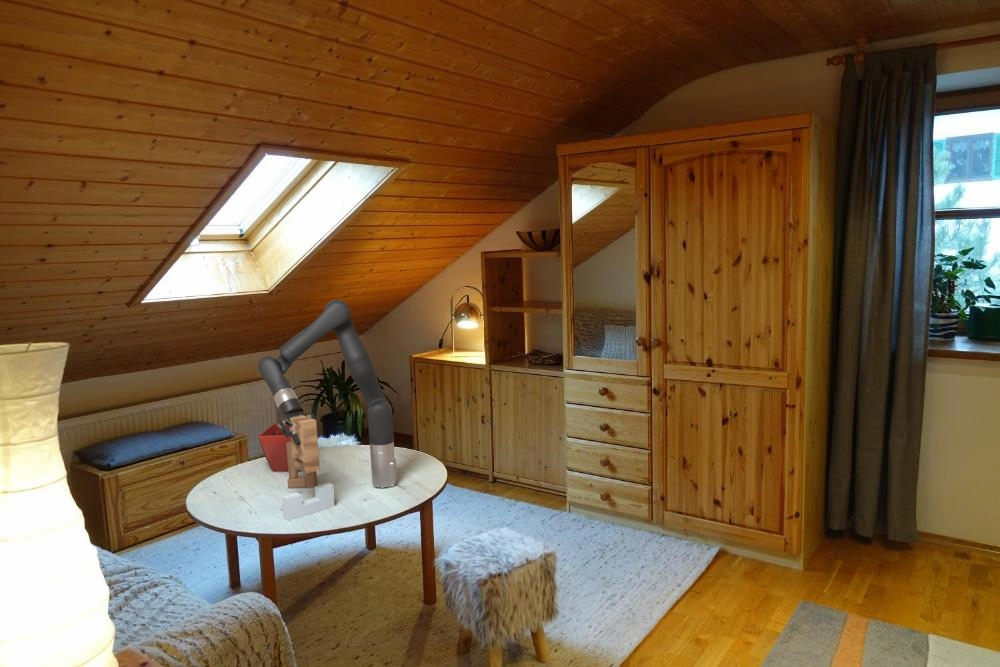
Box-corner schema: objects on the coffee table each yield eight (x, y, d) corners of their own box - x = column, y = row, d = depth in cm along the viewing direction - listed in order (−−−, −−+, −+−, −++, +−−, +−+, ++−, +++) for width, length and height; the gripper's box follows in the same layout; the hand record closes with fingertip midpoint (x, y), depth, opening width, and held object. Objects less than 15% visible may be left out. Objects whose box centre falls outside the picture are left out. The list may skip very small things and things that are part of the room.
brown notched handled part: (315, 488, 278) (311, 443, 276) (287, 488, 279) (284, 443, 276) (317, 484, 282) (314, 440, 279) (291, 485, 282) (287, 441, 280)
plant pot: (260, 475, 295) (257, 435, 293) (277, 460, 314) (274, 422, 312) (306, 474, 294) (303, 434, 292) (320, 459, 313) (317, 422, 311)
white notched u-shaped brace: (329, 503, 262) (328, 482, 261) (334, 506, 259) (333, 485, 258) (283, 518, 250) (282, 496, 248) (288, 521, 247) (286, 498, 246)
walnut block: (293, 467, 254) (289, 418, 251) (305, 463, 258) (302, 415, 255) (306, 473, 247) (302, 423, 244) (319, 470, 250) (316, 420, 248)
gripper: (272, 401, 249) (290, 441, 242) (309, 394, 259) (328, 432, 252) (266, 413, 254) (284, 453, 247) (303, 405, 263) (322, 443, 256)
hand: (306, 442), depth 249 cm, fingers closed on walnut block, 5 cm apart
